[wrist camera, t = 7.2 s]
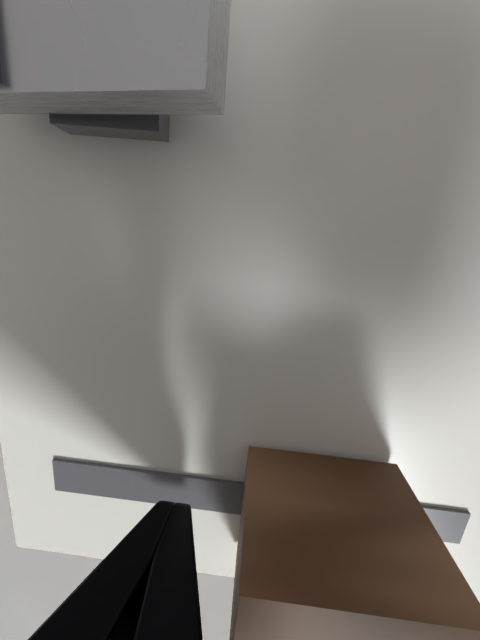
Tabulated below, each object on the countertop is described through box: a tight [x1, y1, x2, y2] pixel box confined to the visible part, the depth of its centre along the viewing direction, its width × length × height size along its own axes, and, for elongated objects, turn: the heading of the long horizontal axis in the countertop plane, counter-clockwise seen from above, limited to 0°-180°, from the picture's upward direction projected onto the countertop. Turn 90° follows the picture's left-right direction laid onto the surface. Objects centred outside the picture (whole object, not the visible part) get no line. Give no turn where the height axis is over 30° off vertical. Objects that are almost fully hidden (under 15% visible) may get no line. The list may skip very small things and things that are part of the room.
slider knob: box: [230, 446, 480, 640], centre depth 6 cm, size 4×4×3 cm
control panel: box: [0, 0, 480, 603], centre depth 6 cm, size 19×17×3 cm
